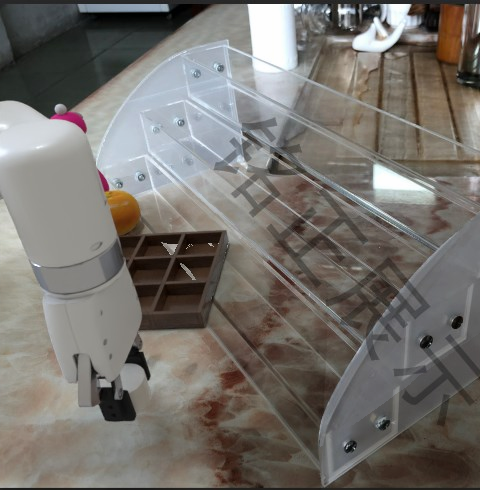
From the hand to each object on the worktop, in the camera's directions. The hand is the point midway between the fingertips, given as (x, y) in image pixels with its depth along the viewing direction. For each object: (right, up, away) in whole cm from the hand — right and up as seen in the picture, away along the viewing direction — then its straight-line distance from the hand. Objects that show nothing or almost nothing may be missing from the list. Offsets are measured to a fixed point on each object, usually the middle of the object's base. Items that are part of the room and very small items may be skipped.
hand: (128, 397), depth 63 cm
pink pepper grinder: (-20, +22, +43) cm, 53 cm away
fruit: (-14, +18, +37) cm, 44 cm away
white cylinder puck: (0, 0, 0) cm, 0 cm away
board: (-4, +10, +24) cm, 26 cm away
